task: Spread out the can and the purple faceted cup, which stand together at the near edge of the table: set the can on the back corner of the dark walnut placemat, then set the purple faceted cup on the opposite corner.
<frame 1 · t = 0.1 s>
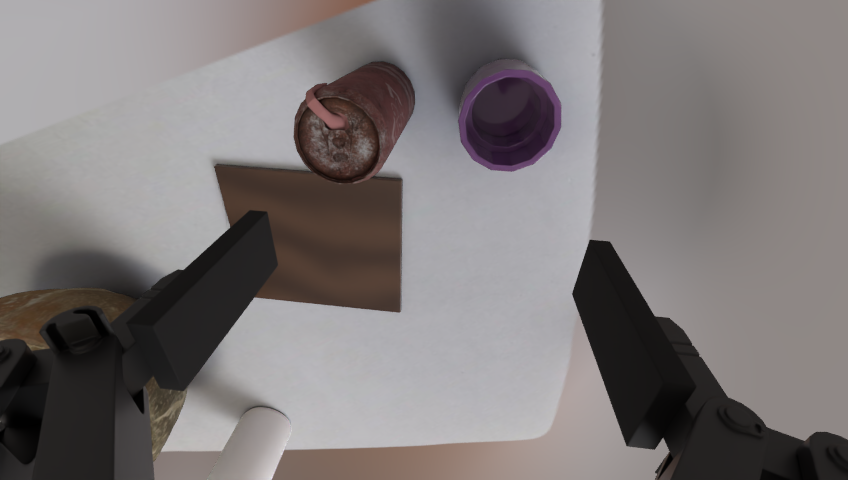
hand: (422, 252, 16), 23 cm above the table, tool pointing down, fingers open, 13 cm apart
purple faceted cup: (502, 103, 34), on the table
bowl: (139, 322, 55), on the table
alcohol: (269, 419, 65), on the table
placemat: (317, 243, 44), on the table
can: (382, 95, 34), on the table
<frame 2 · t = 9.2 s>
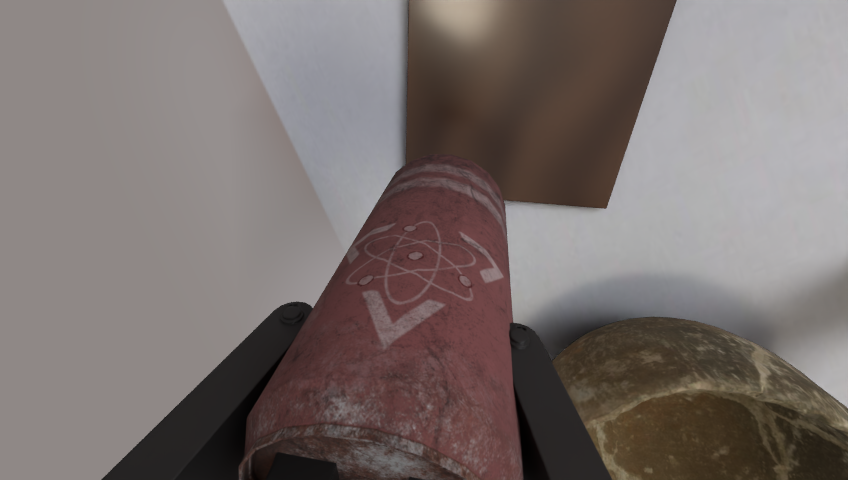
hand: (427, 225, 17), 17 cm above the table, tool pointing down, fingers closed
bowl: (625, 357, 43), on the table
placemat: (523, 80, 29), on the table
can: (442, 207, 19), point 14 cm above the table, touching hand
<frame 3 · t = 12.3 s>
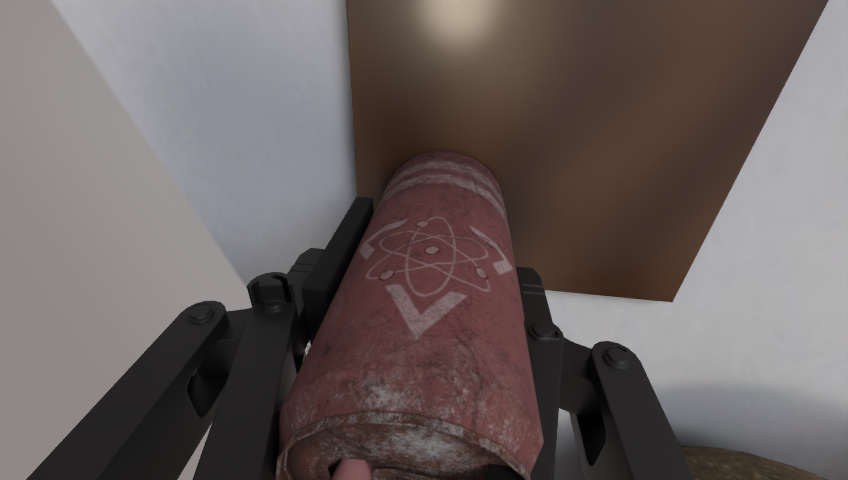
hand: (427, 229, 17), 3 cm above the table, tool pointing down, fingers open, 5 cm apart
bowl: (678, 477, 31), on the table
placemat: (548, 108, 17), on the table
can: (441, 204, 20), resting on placemat
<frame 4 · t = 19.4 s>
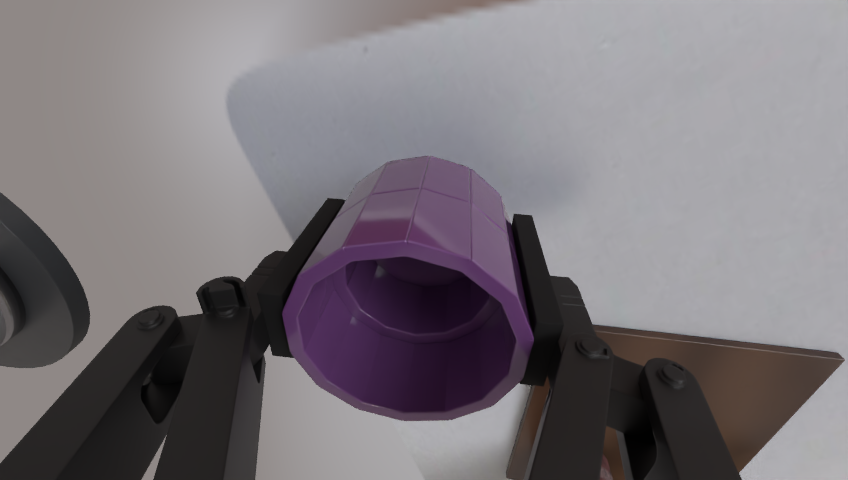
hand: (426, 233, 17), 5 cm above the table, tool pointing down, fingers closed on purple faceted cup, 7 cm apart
purple faceted cup: (426, 230, 17), point 5 cm above the table, touching gripper
placemat: (638, 424, 30), on the table
can: (566, 455, 33), resting on placemat
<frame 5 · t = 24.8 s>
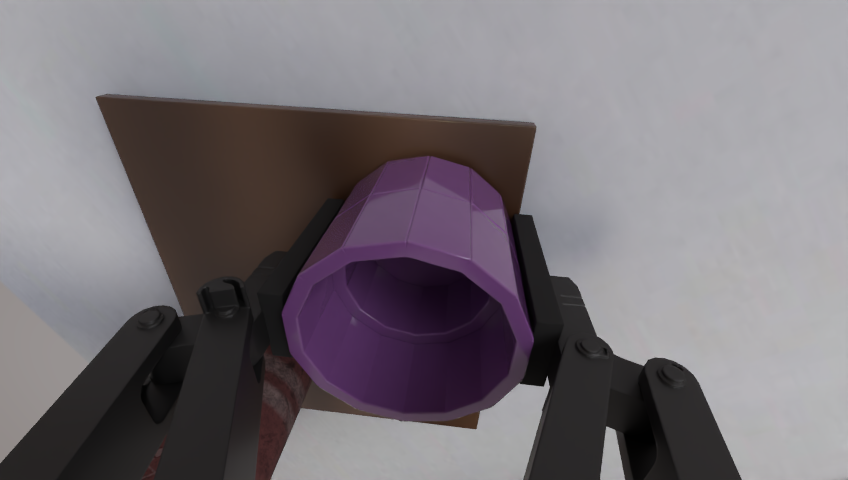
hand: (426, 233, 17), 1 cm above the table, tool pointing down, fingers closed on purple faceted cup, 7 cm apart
purple faceted cup: (427, 230, 17), point 1 cm above the table, touching gripper
placemat: (333, 294, 21), on the table
can: (268, 355, 23), resting on placemat
when the fingers open (1 cm above the table, at t = 25.0 s): purple faceted cup stays where it is, resting on placemat.
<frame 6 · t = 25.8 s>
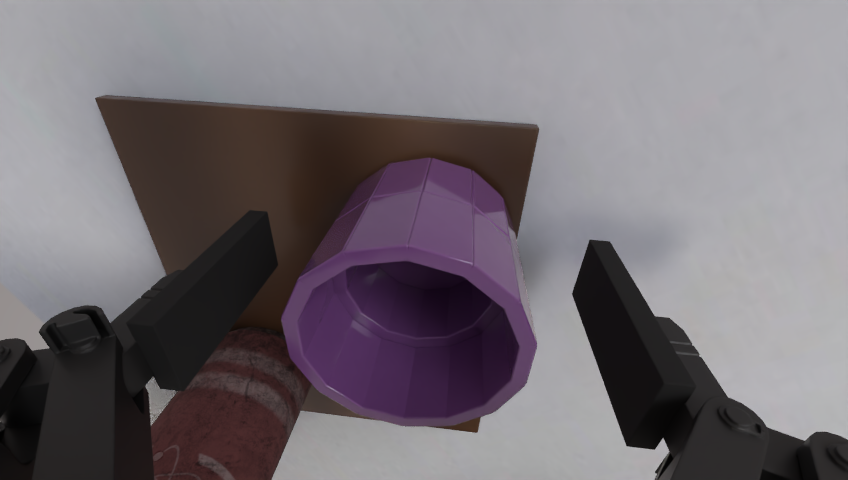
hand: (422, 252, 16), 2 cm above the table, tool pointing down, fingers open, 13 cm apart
purple faceted cup: (428, 232, 17), point 1 cm above the table, touching placemat
placemat: (334, 297, 20), on the table
can: (268, 357, 23), resting on placemat
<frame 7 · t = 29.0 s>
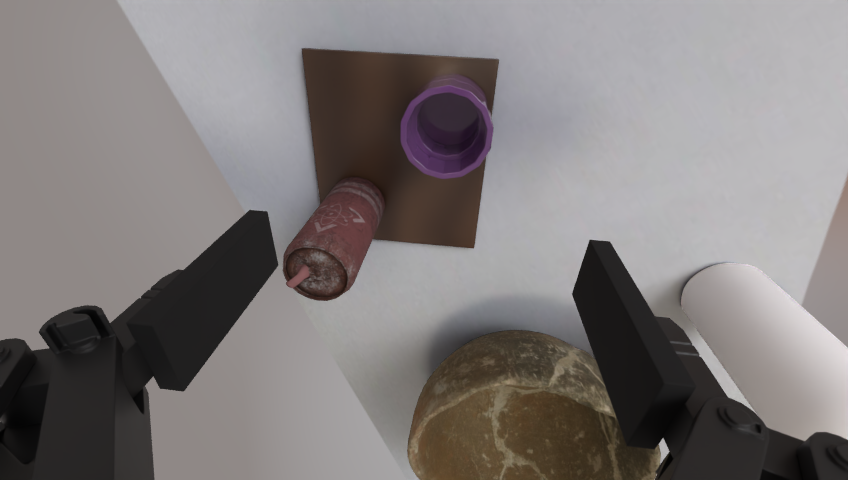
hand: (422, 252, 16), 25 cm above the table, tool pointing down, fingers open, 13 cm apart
purple faceted cup: (449, 114, 36), point 1 cm above the table, touching placemat
bowl: (514, 360, 54), on the table
alcohol: (718, 288, 44), on the table
placemat: (399, 158, 39), on the table
can: (358, 200, 42), resting on placemat
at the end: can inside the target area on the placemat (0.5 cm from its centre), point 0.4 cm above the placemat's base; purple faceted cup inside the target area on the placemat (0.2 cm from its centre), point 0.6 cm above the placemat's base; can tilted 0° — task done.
